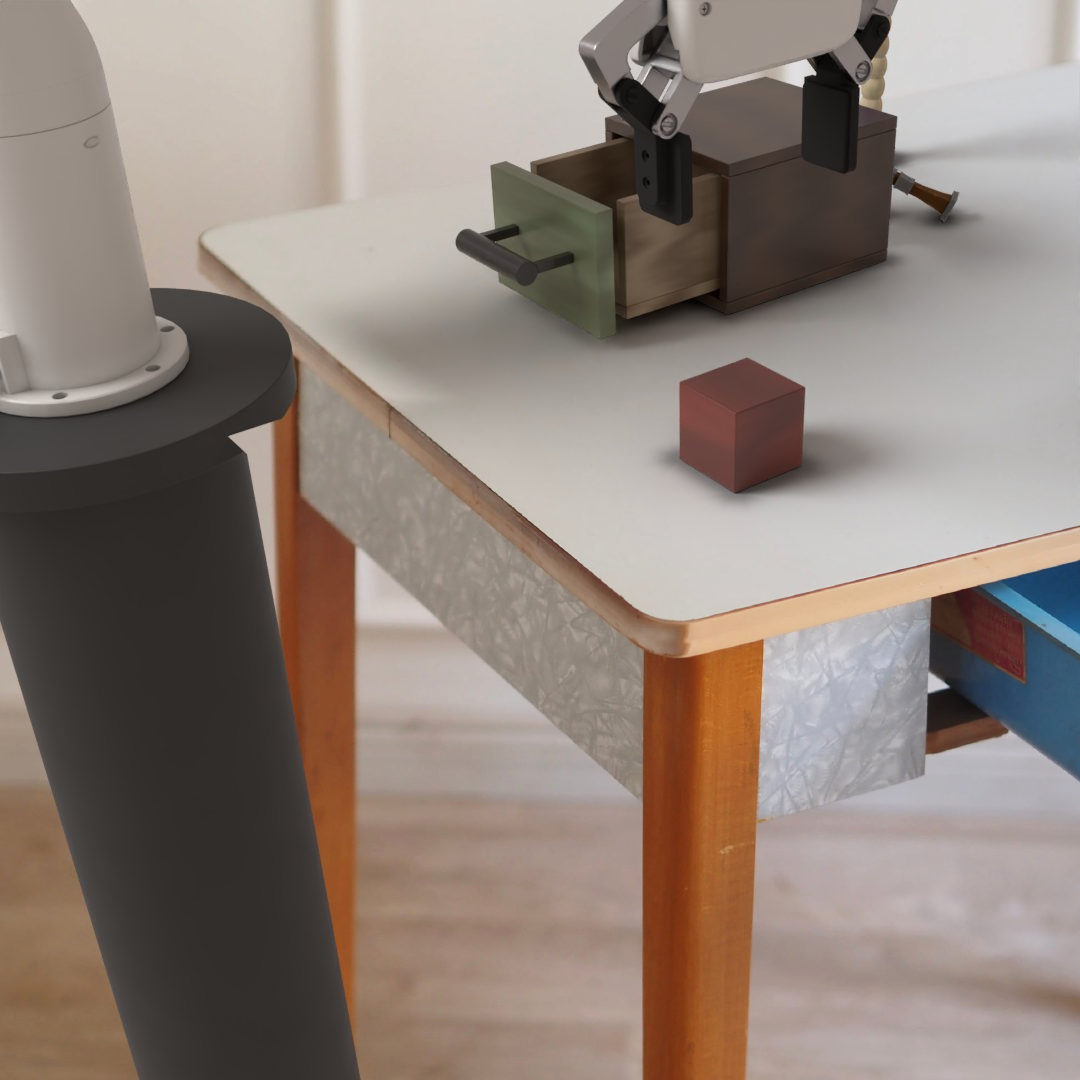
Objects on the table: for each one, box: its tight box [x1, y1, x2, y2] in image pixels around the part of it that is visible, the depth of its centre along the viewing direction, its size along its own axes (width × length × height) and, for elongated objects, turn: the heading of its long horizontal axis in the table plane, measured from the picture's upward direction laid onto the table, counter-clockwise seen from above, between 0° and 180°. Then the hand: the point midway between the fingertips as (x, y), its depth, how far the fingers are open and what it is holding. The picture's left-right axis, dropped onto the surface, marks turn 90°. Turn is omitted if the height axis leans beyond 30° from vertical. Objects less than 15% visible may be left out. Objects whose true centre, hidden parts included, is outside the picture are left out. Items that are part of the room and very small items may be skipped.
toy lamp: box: [859, 16, 893, 112], centre depth 111 cm, size 5×5×17 cm
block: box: [678, 357, 806, 494], centre depth 76 cm, size 4×4×4 cm
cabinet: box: [604, 75, 898, 315], centre depth 98 cm, size 14×13×10 cm
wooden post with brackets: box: [892, 166, 960, 223], centre depth 105 cm, size 2×8×4 cm, turn 72°
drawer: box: [455, 137, 722, 340], centre depth 93 cm, size 17×11×8 cm
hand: (749, 190), depth 69 cm, fingers open, 9 cm apart
